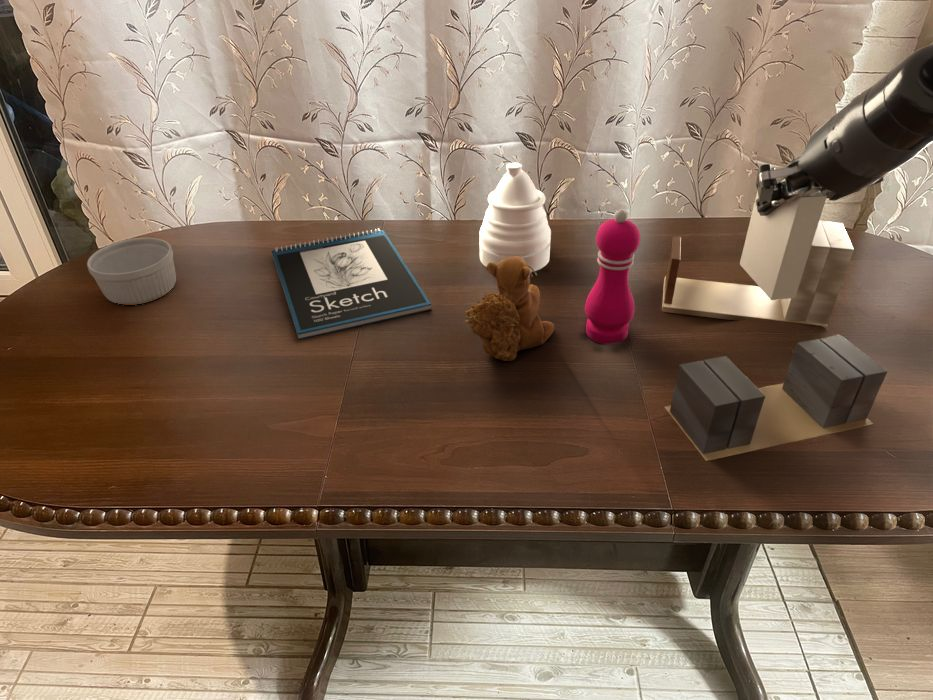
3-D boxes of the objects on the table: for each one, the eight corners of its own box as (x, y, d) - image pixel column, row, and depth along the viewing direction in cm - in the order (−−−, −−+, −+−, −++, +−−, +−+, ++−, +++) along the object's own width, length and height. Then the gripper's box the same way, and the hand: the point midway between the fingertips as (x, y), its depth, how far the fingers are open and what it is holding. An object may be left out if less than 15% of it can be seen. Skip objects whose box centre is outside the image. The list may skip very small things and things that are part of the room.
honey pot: (542, 277, 114) (547, 178, 103) (471, 269, 117) (469, 171, 106) (555, 245, 123) (561, 151, 113) (489, 238, 127) (489, 146, 116)
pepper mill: (619, 317, 103) (635, 197, 91) (638, 343, 97) (658, 218, 85) (575, 323, 102) (586, 202, 90) (592, 350, 96) (606, 224, 84)
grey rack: (816, 381, 89) (836, 329, 84) (871, 430, 81) (895, 376, 76) (662, 412, 84) (673, 359, 80) (704, 466, 77) (719, 412, 72)
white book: (761, 262, 86) (787, 166, 78) (795, 298, 78) (827, 195, 71) (739, 264, 85) (762, 167, 78) (770, 300, 78) (800, 197, 71)
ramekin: (191, 294, 112) (180, 258, 108) (109, 319, 106) (94, 282, 102) (171, 264, 121) (160, 230, 117) (94, 286, 115) (79, 251, 111)
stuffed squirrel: (557, 328, 101) (562, 252, 93) (519, 379, 91) (521, 298, 83) (499, 313, 105) (499, 238, 97) (456, 360, 95) (453, 281, 87)
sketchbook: (299, 341, 100) (296, 329, 99) (272, 256, 123) (270, 246, 122) (432, 310, 106) (431, 299, 105) (382, 234, 129) (381, 225, 128)
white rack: (816, 298, 106) (842, 221, 98) (825, 331, 98) (854, 251, 90) (663, 281, 112) (676, 207, 104) (661, 311, 104) (675, 234, 96)
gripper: (933, 97, 62) (827, 174, 79) (790, 105, 62) (714, 181, 79) (948, 171, 61) (837, 233, 78) (802, 180, 60) (723, 240, 77)
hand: (776, 207), depth 78 cm, fingers closed on white book, 3 cm apart
